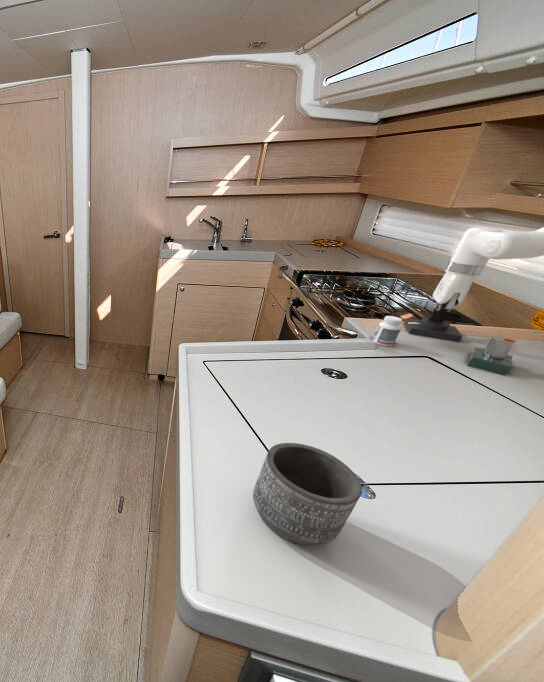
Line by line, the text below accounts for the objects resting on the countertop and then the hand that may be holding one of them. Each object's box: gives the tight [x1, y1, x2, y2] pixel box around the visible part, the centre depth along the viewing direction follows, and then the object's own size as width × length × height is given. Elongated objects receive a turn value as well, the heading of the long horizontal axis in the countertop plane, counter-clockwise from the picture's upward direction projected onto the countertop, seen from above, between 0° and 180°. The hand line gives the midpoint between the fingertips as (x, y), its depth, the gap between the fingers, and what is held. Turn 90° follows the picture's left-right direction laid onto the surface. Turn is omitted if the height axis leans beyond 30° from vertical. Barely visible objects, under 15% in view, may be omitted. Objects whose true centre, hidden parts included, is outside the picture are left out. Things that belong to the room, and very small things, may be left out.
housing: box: [403, 317, 464, 343], centre depth 120 cm, size 12×10×4 cm
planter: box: [252, 442, 363, 546], centre depth 58 cm, size 12×12×13 cm
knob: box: [482, 335, 517, 360], centre depth 99 cm, size 4×4×6 cm
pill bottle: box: [371, 315, 403, 347], centre depth 114 cm, size 5×5×9 cm
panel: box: [466, 346, 517, 376], centre depth 101 cm, size 9×8×3 cm
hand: (435, 321), depth 119 cm, fingers closed
